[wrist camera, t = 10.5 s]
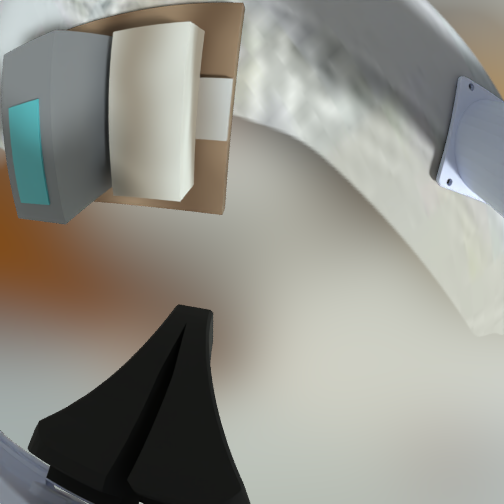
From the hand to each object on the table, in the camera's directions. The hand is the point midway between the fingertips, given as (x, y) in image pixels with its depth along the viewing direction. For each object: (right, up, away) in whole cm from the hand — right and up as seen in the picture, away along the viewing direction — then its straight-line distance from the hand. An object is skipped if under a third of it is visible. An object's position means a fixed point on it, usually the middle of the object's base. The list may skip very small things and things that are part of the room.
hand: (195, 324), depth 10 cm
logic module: (-7, +11, +3) cm, 14 cm away
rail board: (-7, +12, +4) cm, 15 cm away
